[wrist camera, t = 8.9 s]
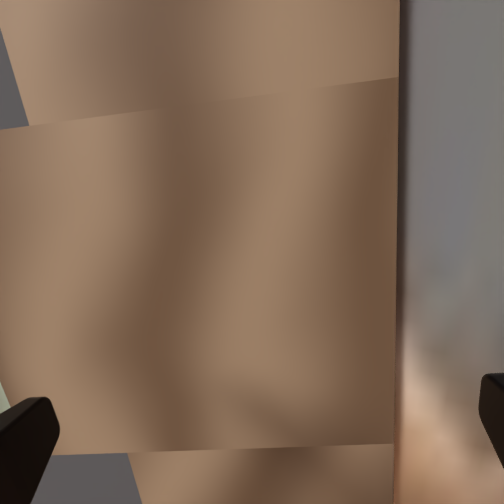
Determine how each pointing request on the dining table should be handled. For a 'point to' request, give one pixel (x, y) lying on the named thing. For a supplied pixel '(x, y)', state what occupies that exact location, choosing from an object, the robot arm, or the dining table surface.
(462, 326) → the dining table surface
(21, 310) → the walnut box
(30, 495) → the robot arm
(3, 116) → the charcoal strips
